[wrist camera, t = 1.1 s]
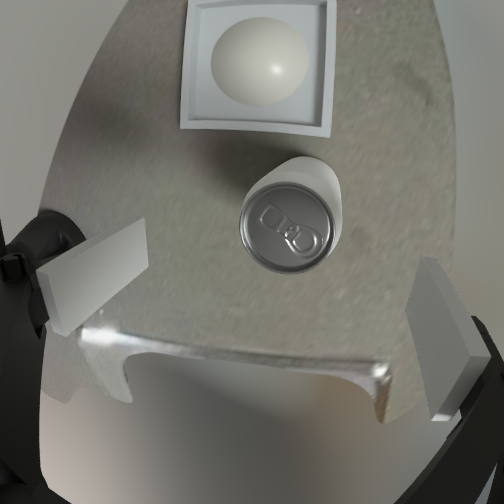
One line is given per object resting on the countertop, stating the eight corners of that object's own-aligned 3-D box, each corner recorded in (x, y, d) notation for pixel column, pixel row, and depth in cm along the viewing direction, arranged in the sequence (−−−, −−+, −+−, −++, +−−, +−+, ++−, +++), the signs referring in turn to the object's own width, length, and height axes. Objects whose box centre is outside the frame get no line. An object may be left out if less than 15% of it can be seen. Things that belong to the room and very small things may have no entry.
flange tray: (189, 128, 29) (180, 128, 27) (197, 5, 23) (188, -1, 22) (330, 137, 26) (329, 137, 24) (336, 2, 21) (336, -6, 19)
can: (313, 236, 30) (298, 299, 19) (258, 196, 30) (213, 239, 19) (354, 183, 27) (366, 221, 16) (296, 141, 27) (270, 150, 16)
